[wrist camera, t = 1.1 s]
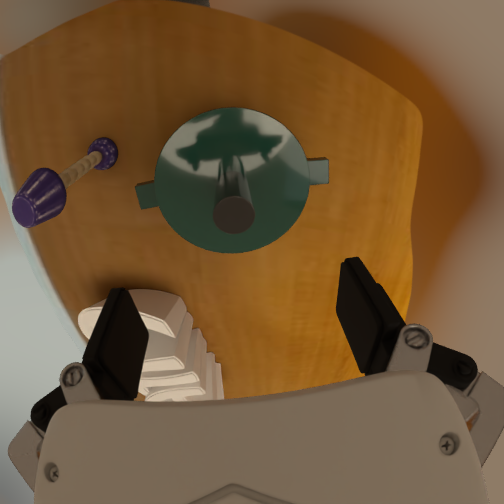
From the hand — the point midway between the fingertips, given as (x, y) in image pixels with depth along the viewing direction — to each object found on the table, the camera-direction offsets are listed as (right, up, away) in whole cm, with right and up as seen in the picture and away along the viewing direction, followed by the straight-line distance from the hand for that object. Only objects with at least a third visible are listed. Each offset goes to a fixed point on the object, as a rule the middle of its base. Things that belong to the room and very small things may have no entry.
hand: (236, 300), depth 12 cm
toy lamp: (-18, +14, +18) cm, 29 cm away
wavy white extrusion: (-15, -15, +37) cm, 43 cm away
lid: (-1, +8, +12) cm, 14 cm away
